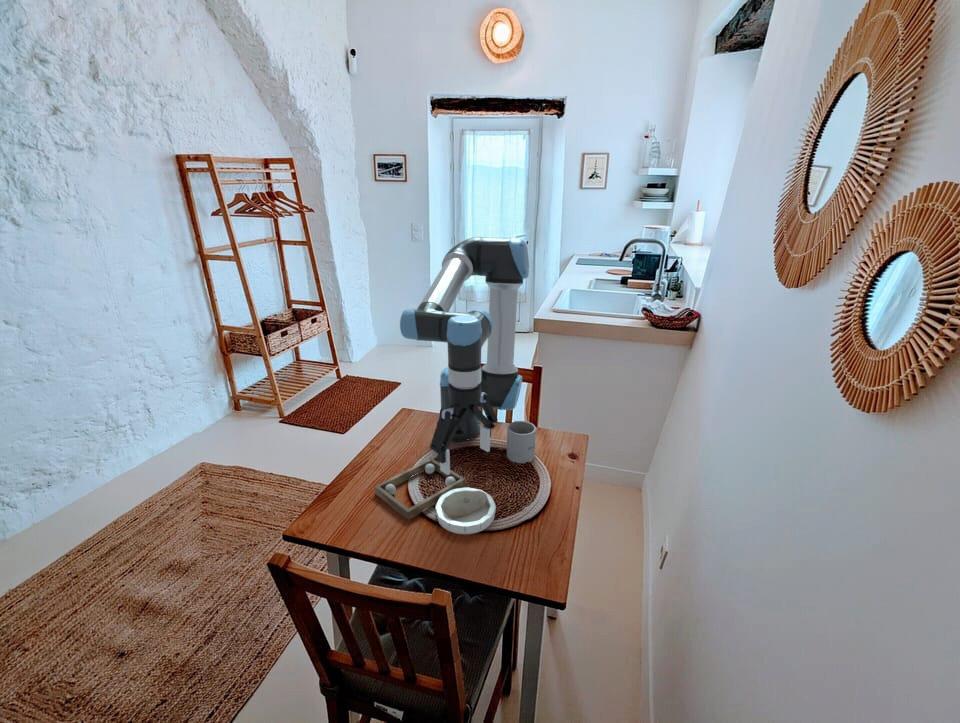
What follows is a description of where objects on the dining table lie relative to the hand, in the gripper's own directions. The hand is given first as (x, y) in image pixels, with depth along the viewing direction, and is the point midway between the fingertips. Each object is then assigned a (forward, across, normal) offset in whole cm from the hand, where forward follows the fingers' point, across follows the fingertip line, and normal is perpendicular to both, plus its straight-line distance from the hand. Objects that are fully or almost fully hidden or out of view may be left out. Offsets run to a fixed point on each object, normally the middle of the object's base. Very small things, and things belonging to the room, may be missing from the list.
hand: (465, 460), depth 116 cm
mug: (+17, -32, -8) cm, 37 cm away
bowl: (+16, +1, 0) cm, 16 cm away
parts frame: (+16, +3, -16) cm, 23 cm away
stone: (+15, +1, 0) cm, 15 cm away
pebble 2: (+16, -4, -11) cm, 20 cm away
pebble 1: (+16, +10, -20) cm, 27 cm away
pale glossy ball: (+16, -4, -20) cm, 26 cm away
